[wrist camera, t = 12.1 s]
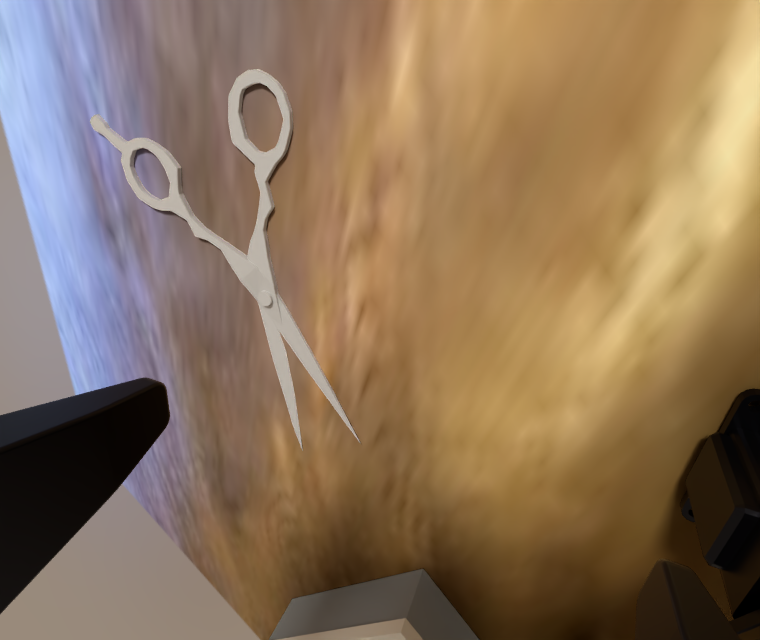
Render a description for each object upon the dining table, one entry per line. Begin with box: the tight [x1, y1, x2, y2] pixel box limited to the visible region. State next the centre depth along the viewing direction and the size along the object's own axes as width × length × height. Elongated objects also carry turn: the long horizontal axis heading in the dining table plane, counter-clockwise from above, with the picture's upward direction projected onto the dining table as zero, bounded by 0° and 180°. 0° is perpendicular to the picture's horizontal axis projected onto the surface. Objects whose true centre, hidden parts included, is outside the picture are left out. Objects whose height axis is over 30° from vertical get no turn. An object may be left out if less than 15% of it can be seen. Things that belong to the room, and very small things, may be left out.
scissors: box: [90, 69, 361, 451], centre depth 24 cm, size 11×1×20 cm
